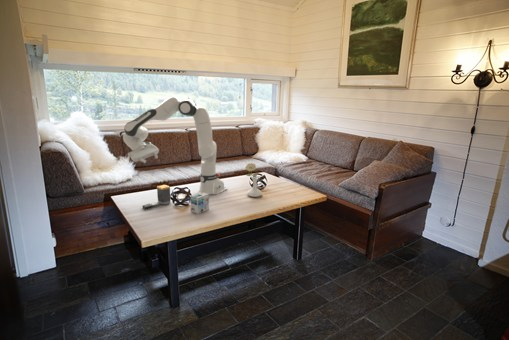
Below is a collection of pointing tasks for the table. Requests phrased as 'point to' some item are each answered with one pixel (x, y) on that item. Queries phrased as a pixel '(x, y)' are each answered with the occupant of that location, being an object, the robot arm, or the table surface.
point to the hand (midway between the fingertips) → (151, 159)
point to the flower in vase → (254, 191)
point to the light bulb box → (199, 202)
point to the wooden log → (163, 193)
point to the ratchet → (155, 205)
